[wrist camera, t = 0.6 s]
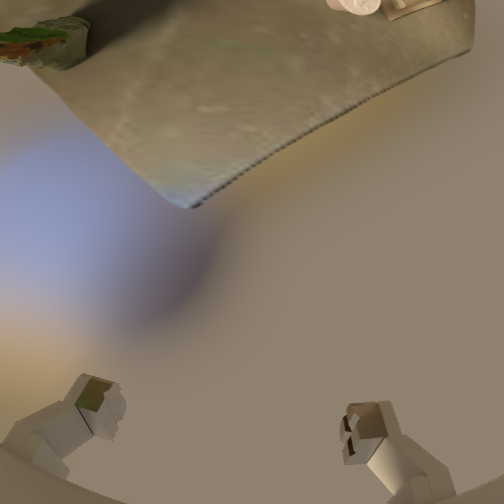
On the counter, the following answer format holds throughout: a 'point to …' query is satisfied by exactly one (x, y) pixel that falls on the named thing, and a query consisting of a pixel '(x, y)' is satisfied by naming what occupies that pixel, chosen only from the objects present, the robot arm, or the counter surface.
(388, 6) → the holder
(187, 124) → the counter surface
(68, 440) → the robot arm
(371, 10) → the smoothie
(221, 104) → the counter surface
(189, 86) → the counter surface
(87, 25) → the pouch
